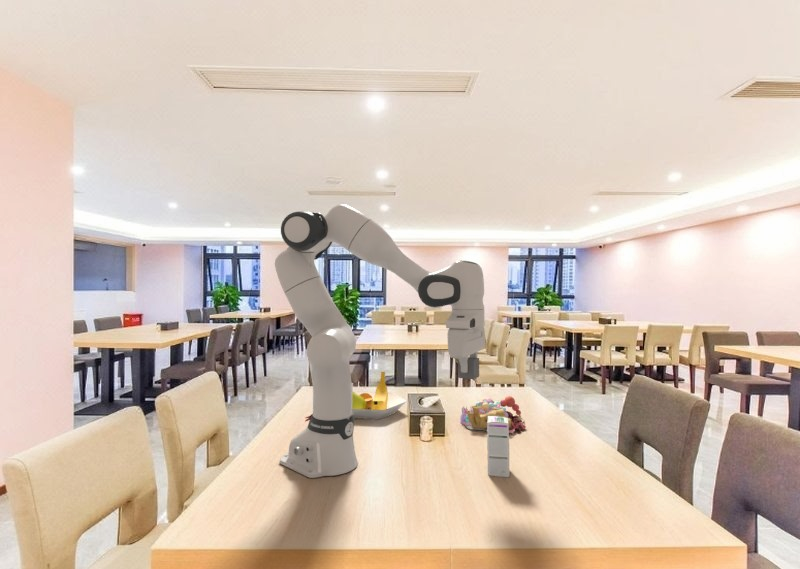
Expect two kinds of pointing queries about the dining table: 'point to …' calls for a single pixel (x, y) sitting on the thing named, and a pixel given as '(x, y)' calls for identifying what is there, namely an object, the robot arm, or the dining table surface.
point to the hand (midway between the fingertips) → (468, 370)
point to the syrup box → (498, 446)
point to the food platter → (492, 414)
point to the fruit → (376, 402)
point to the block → (470, 369)
